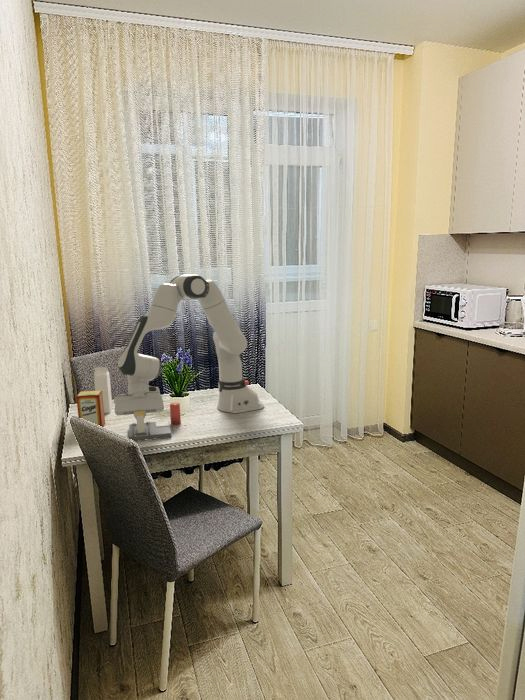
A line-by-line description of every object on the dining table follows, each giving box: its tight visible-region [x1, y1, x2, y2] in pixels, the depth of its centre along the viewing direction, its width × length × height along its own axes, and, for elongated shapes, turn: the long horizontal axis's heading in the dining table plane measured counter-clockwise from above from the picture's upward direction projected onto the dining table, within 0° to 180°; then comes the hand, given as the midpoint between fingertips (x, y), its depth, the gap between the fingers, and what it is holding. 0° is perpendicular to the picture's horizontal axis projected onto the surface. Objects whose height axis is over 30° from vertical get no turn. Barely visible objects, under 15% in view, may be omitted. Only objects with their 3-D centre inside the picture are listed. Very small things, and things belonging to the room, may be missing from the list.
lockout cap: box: [169, 402, 182, 426], centre depth 221 cm, size 4×4×9 cm
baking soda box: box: [75, 390, 106, 428], centre depth 217 cm, size 10×6×16 cm
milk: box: [93, 366, 113, 414], centre depth 237 cm, size 6×6×22 cm
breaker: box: [135, 411, 147, 436], centre depth 204 cm, size 4×5×9 cm
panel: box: [128, 420, 172, 442], centre depth 211 cm, size 17×15×3 cm
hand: (140, 422), depth 206 cm, fingers closed, pressing on breaker
